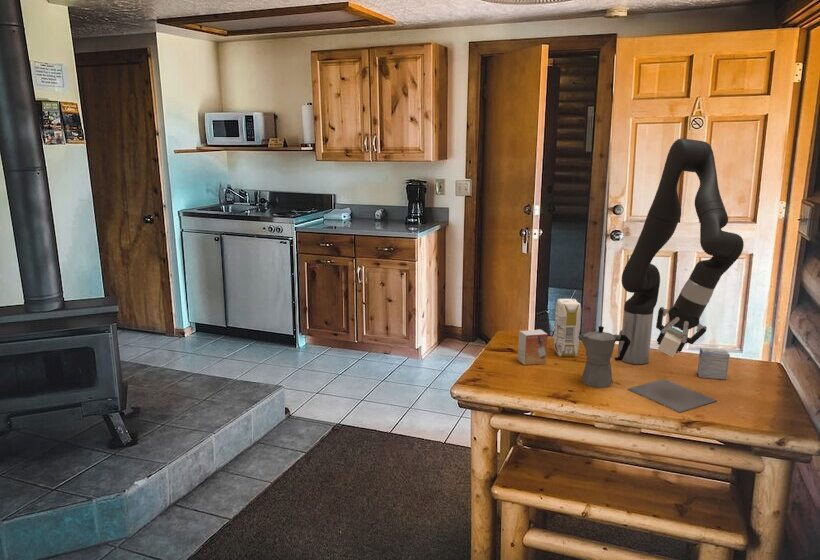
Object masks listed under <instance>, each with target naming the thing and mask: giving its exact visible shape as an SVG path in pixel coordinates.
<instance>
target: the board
mask: <svg viewBox="0 0 820 560" xmlns="http://www.w3.org/2000/svg"><path fill="white" fill-rule="evenodd" d="M627 391H630V392H631V393H634V394H636V393H637V394H636V395H638V394H639V396H641V397H643V396H644V397H643V398H645V397H646V399H647V398H649V399H648V400H650V399H651V400H650V401H652V400H654V401H656V402H658V403H657V404H659V403H660V404H659V405H661V404H662V405H661V406H663V405H665V406H667V407H666V408H668V407H669V408H668V409H670V408H671V409H670V410H672V409H673V411H674V412H677V413H679V414H681V413H684V412H688V411H691V410H694V409H697V407H698V408H700V406H701V407H704V406H707V405H711V404H713V403H717V402H718V400H717V399H715V398H713V397H711V396H708V395H705V394H703V393H700V392H697V391H696V390H693V389H691V388H687V387H685V386H682V385H680V384H678V383H675V382H673V381H670V380H667V379H665V378H662V379H659V380H654V381H651V382H648V383H644V384H640V385H636V386H633V387H632V386H631V387H629V388H627ZM654 401H653V402H654ZM656 402H655V403H656ZM665 406H664V407H665ZM693 408H694V409H693ZM690 409H691V410H690Z"/></svg>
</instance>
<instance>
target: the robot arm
mask: <svg viewBox="0 0 820 560" xmlns="http://www.w3.org/2000/svg"><path fill="white" fill-rule="evenodd" d="M715 161H716V160H715V155H714V151H713V148H712V146H711V144H710V143H709V142H707V141H703V140H698V139H690V138H678V139H676V140H675V141H673V143H672V144H671V146H670V148H669V151H668V152H667V156H666V159H665V162H664V167H663V171H662V173H661V177H660V181H659V183H658V187H657V190H656V193H655V195H654V197H653V200H652V203H651V205H650V207H649V210H648V212H647V215H646V218H645V221H644V224H643V227H642V230H641V232H640V234H639V236H638V239H637V241H636V244H635V246H634V248H633V251H632V253H631V255H630V256H629V259H628V260H627V262H626V264H625V267H624V268H623V271H622V275H621V285H622V287H623V289H624V290H625V291H626V292H628V293H630V294H631V293H632V296H631V297H630V298H628V299H627V300H626V301H625V302H624V307H623V317H622V319H623V320H622V329H621V330H619V334H618V335H626V336H627V337H628V338H629V340H630V345H629V347H628V349H627V351H626V353H625V355H624V357H623V359H622V360H621V361H622V362H624V363H627V364H632V365H646V364H648V363H649V360H650V350H651V340H652V329H653V319H654V310H655V307H656V306H657V303H658V298H659V293H660V292H659V291H660V286H661V275H660V271H659V269H658V267H657V266H656V265H655V264H653V263H652V262H653V260H654V258H655V256H656V254H658V252H659V251H660V250H661V249H662V248H663V247H665V245H666V244H667V243H668V242H669V241H670V239H671V238H672V236H673V235H674V233H675V231H676V229H677V226H678V224H679V222H680V219H681V216H682V208H681V207H682V206H681V202H680V199H679V195H678V194H679V193H678V184H679V180H680V177H681V174H682V172H687V173H695V174H696V175H697V178H698V180H699V187H698V189H697V192H696V194H695V198H694V207H695V211H696V215H697V218H698V221H699V224H700V226H699V227H700V230H699V231H700V232H699V242H700V243H699V244H700V246H701V249H702V250H703V252H704V253H705V254H707V255H709V256H712V257H710V258H709V259H705V260H699V261H698V262H697V263H696V264H695V266H694V268H693V270H692V272H691V274H690V275H689V278H688V279H687V281H685V284H684V285H683V287H682V288H681V290H680V292H679V294H678V295H677V298H676V300H675V303H674V304H673V306H672V307H670V308H669V309H667V308H665V307H663V306H661V307H659V309H658V312H657V319H656V324H655V328H656V329H657V330H658V331H660V332H659V335H658V337H656V338H657V339H656V342H657V345H658V346H659V345H660V343H661V341H662V340H663V338H664V336H665V334H666V332H667V331H668V330H669V329H670V328H671V327H673V328H675V329H676V328H677V329H678V330H679V331H681V332H683V334H682V341H681V343H680V345H679V347H678V349H677V351H676V353H675V354H677V353H681V352H682V351H683V349H684V347H685V345H687V344H690V345H694V343H695V342H697V340H699V339H700V338H701V337H702V336H703V335H705V333H706V331H707V329H708V327H707V326H705V325H702V324H701V323H700V318H701V316H702V314H703V313H704V311H705V310H706V308H707V305H708V304H709V303H710V300H711V298H712V297H713V294H714V291H715V289H716V287H717V285H718V284H719V281H720V279H721V277H722V276H723V275H724V274H725V273H726V272H727V271H728V270H729V269H730V268H731V267H732V266H733V264H734V263H736V261H737V260H738V259H739V258H740V256H741V255H742V253H743V251H744V246H745V245H744V243H745V242H744V239H743V237H742V235H740V234H737V233H735V232H731V231H726V230H725V231H724V230H723V228H725V226H727V224H728V223H729V216H728V213H727V211H726V206H725V204H724V202H723V199H722V197H721V193H720V187H719V183H718V181H719V180H718V174H717V169H716V168H717V167H716V162H715ZM667 314H668V317H669V321H668V322H667V323H666V324H665V325H663V320H664V319H663V318H664V317H666V315H667ZM695 327H696V332H695V333H694V334H693V335H692V336H691V337H689V336H688V335H689V332H690V330H691V329H693V328H695ZM623 344H624V341H618V346H617V347H618V348H617V357H619V356H620V351H621V350H622V347H623ZM617 357H616V358H617Z"/></svg>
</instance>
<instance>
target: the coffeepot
mask: <svg viewBox="0 0 820 560" xmlns="http://www.w3.org/2000/svg"><path fill="white" fill-rule="evenodd" d="M604 329H605V327H604V326H602V325H600V326H598V330H595V331H587V332H586V333H580V335H579V336H578V338H579V340H580V341H581V342H582V345H583V346H584V350H585V356H586V361H585V365H584V367H583V368H584V369H583V371H582V377H581V382H582V383H583V384H584V385H586V386H588V387H592V388H597V389H598V388H599V389H600V388H601V389H606V388H609V387H611V386H612V384H613V376H612V375H613V374H612V364H611V358H612V356H613V352H614V349H615V346H616V345H615V344H616V342H619V341H624V344H623V347H622V350H621V351H620V356H619V357H614V360H615V361H617V362H619V361H622V359H623V357H624V355H625V353H626V351H627V349H628V347H629V345H630V340H629V338H628V337H627V336H626V335H619V334H616V333H615V334H613V333H610V332H605V331H604Z"/></svg>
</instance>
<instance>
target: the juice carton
mask: <svg viewBox="0 0 820 560" xmlns="http://www.w3.org/2000/svg"><path fill="white" fill-rule="evenodd" d="M554 315H555V316H554V330H553V331H554V333H553V348H554V351H555V352H556V354H557V355H558V356H559V357H562V358H563V357H566V358H567V357H568V358H569V357H572V358H574V357H575V358H576V357H578V354H579V353H578V352H579V349H580V348H579V347H580V338H578V336H579V335H581V322H582V321H581V320H582V303H580V302H578V300H577V299H576V298H557V301H556V305H555V314H554Z"/></svg>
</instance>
